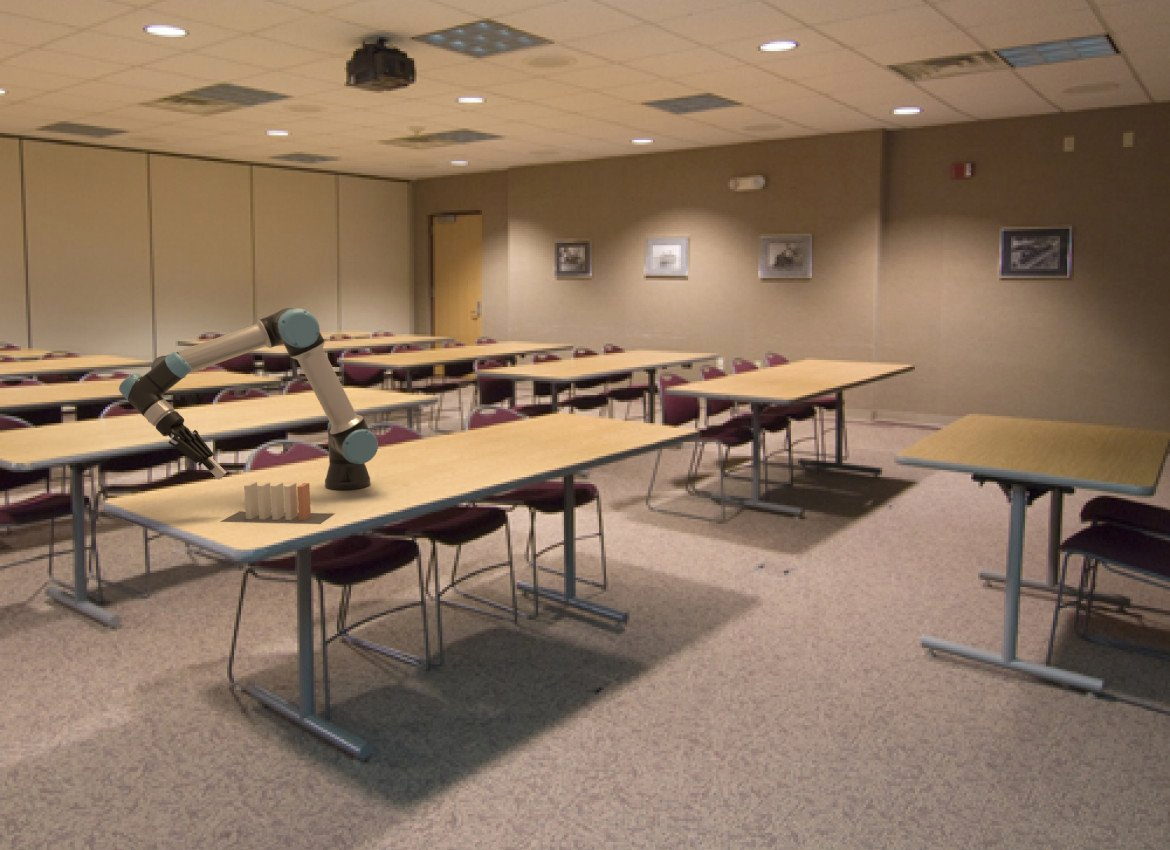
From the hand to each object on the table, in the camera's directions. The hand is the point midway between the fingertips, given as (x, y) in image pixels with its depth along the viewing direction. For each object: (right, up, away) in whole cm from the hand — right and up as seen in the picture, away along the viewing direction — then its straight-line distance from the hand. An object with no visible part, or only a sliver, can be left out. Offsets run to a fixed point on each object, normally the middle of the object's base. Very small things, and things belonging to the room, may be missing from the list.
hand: (222, 476), depth 265 cm
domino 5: (+24, -12, 0) cm, 27 cm away
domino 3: (+16, -12, +1) cm, 20 cm away
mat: (+16, -13, +1) cm, 21 cm away
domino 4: (+20, -12, 0) cm, 24 cm away
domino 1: (+8, -12, +1) cm, 15 cm away
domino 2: (+12, -12, +1) cm, 17 cm away
